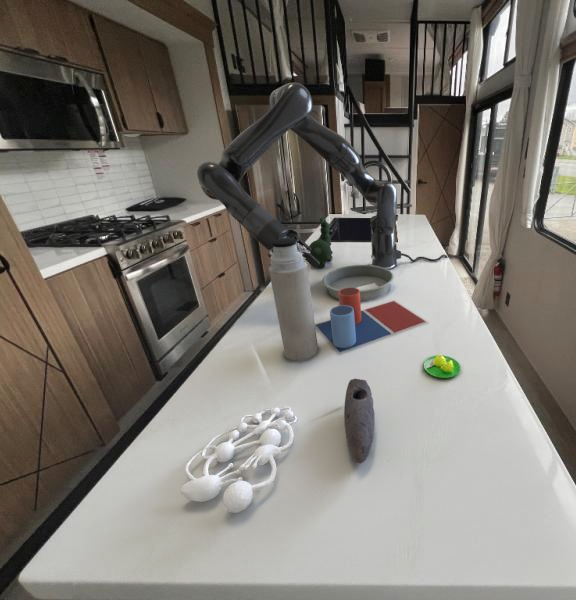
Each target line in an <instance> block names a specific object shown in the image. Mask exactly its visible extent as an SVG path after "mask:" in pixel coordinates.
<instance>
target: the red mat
mask: <svg viewBox="0 0 576 600" xmlns="http://www.w3.org/2000/svg"><path fill="white" fill-rule="evenodd" d="M365 311H366V312H367V313H368V314H370V315H371V316H372V317H374V318H375V319H376V320H377V321H379V322H380V323H381V324H383V325H384V327H386V328H388V329H389V330H390V331H392V332H393V333H398V332H401V331H403V330H406V329H409V328H412V327H415V326H417V325H420V324H423V323H426V320H424V319H423V318H421V317H420V316H418V315H416V314H415V313H413V312H412V311H410V310H409V309H407V308H406V307H404V306H403V305H401V304H400V303H398V302H397V301H395V300H393V301H390V302H389V301H388V302H386V303H382V304H379V305H376V306H373V307H370V308H365Z"/></svg>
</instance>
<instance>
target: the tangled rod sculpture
mask: <svg viewBox="0 0 576 600" xmlns="http://www.w3.org/2000/svg"><path fill="white" fill-rule="evenodd" d="M284 410H285V412H284V413H283V416H281V417H280V418H279V416H280V415H281V412H282V411H284ZM267 412H270V416H269V418H268V419H267V420H265V419H264V420H262V419H263V416H262V415H264V414H265V413H267ZM246 418H251V420H252V422H253V423H254V424H248V423H246V422H244V420H245V419H246ZM275 418H277V419H275ZM274 419H275V420H274ZM292 419H294V420H293V421H291V420H292ZM287 421H289V422H287ZM297 422H298V418H297V416H296V415H295V414H294V412H293V410H292V408H291V406H284V407H281V408H279V407H273V408H267V409H264V410H262V411H260V412H257V413H254V414H245V415H243V416H242V417H241V418H240V419H239V424H238V425H237V426H234V427H231V428H228V429H227V430H225V431H222V432H221V433H218V434H217V435H215V436H214V437H212V438H211V439H210V440H209V441H208V443H207V444H206V445H205V447H204V448H202V449H201V450H200V451H198V452H197V453H195V454H194V455H193V456H192V457H191V458H190V459H189V460H188V461H187V462H186V464H185V466H184V473H185V475H186V477H187V478H189V480H190V481H188V482H185V484H183V485H182V486H181V489H180V494H181V496H183V497H184V498H186V499H188V500H189V501H193V502H208V501H211V500H213V499H214V498H215V497H217V496H218V495H219V493H220V492H221V490H222V486H224V485H227V484H230V483H231V484H230V485H229V486H228V487H227V488H226V489H225V491H224V493H223V497H222V502H223V506H224V508H225V510H226V511H229V512H230V513H231V514H232V513H234V514H235V513H237V514H238V513H240V512H243V511H244V510H246V509H247V508H248V507H249V506H250V504H251V503H252V501H253V498H254V491H257V490H260V489H264V488H266V487H268V486H269V485H271V484H272V483H273V482H274V480H275V479H276V476H277V462H276V459H274V458H275V457H277V456H279V455H280V454H281V453H282V452H284V451H286V450H288V449H289V448H290V447H291V446H292V445H293V442H294V439H295V436H294V435H295V434H294V430H293V427H292V426H291V425H294V424H296V423H297ZM275 427H276V429H275ZM248 429H251V430H252V429H253V430H252V431H251V432H250V433H249V432H248ZM284 430H287V432H288V436H289V437H288V441H287V442H286V444H284V445H283V446H280V447H279V445H280V444H281V442H282V436H281V433H280V432H279V431H284ZM246 432H248V434H245V436H243V437H241V438H240V434H244V433H246ZM227 434H228V436H227V437H228V441H224V442H221V443H219V444H218V445H213V442H214V441H216V440H217V439H219V438H221V437H223V436H224V435H227ZM253 436H259V439H256V440H253V441H250V442H247V443H243V442H245V441H246V440H248V439H250V438H252V437H253ZM232 442H233V443H232ZM241 443H243V444H241ZM256 445H260V446H259V447H256V448H255V450H254V452H253V454H252V455H250V456H249V457H248V458H247V459H246V460H245V461H244V463H243V464H240V465H239V467H238V468H237V469H236V470H235V471H231V472H227V471H228V470H229V469H232V468H233V467H234V463H232V462H229V461H230V460H231V459H233V457H234V455H235V453H236V451H239V450H242V449H246V448H250V447H252V446H256ZM212 449H213V450H214V453H212V454H209V455H206V452H207V451H209V450H212ZM200 455H201V458H202V459H203V460H205V463H203V468H202V476H201V477H199V478H196V477H194V476H193V475H192V473H191V472H190V471H189V467H190V465H191V463H192V462H193V461H195V459H197V458H198V457H199V456H200ZM214 460H216V461H217V462H218V463H227V462H229V463H228V464H227V466H226V467H225V468H224V469H222V470H220V472H219V473H218V472H217V473H216V474H210V473H209V467H210V465H211V463H212V462H213V461H214ZM253 462H254V463H253ZM268 462H269V464H270V467H271V473H270V476H269V478H267V480H264V481H262V482H258V483H256V484H250V482H248V481H246V480H243V477H242V476H240V475H241V474H242V470H245V471H246V470H248V468H249V466H250V465H251V464H252V463H253V464H252V466H251V467H252V468H253V469H256V468H258V466H264V465H265V464H267V463H268ZM226 472H227V473H226ZM224 473H226V474H224ZM223 474H224V475H223ZM221 475H222V476H221ZM233 475H237V476H238V475H239V477H238V478H231V479H227V480H224V479H226V478H227V477H228V478H229V477H230V476H233ZM223 480H224V481H223Z"/></svg>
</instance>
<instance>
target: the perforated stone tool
mask: <svg viewBox="0 0 576 600" xmlns="http://www.w3.org/2000/svg"><path fill="white" fill-rule="evenodd" d="M345 391H346V393H345V397H344V409H343V420H344V422H343V423H344V430H345V435H346V437H345V438H346V441H347V446H348V449H349V452H350V454H351V456H352V458H353V460H355V462H356V463H357V464H359V465H361V464H363V463H364V462H365V461H366V460H367V458H368V456H369V454H370V451H371V448H372V446H373V441H374V435H375V409H374V398H373V394H372V390H371V386H370V385H369V383H368V382H367V380H366V379H360V378H353V379H349V382H348V383H347V386H346V390H345Z"/></svg>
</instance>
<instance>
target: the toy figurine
mask: <svg viewBox="0 0 576 600" xmlns="http://www.w3.org/2000/svg"><path fill="white" fill-rule="evenodd" d="M319 223H320V239H316V240H314V241H311V243H310V244H309V245H308V246H309V247H310V248H311V250H310V252H311V253H310V254H311V255H312V256H313V257H314V258H315V259H316V260H318V261H319V263H320V264H319V265H318V266H317V267H316V268H318V269H322V268H323V269H324V268H325V267H326V262H327V263H330V262H332V260H333V255H332V254H334V253H333V250H332V247H331V246H332V242H331V240H330V239H331V238H332V235H330V232H331V229H330V228H329V226H330V223H329V222H328V221H327V220H326V218H325V217H324V216H323V217H320V218H319Z"/></svg>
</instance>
